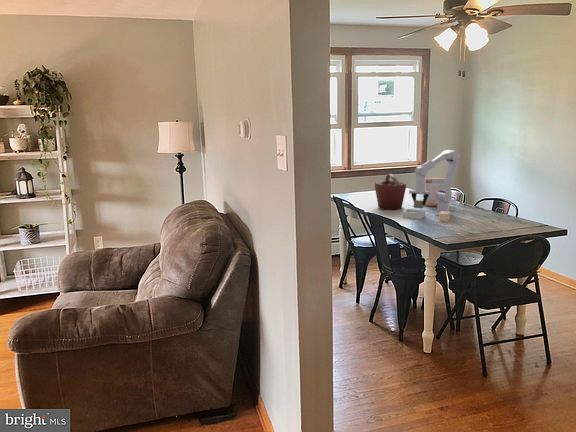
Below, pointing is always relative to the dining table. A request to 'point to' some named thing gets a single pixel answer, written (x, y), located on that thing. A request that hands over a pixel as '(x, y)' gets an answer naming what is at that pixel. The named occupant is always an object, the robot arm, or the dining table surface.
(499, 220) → the dining table surface
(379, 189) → the bucket
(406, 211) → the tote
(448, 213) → the carton
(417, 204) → the metal block
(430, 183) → the cracker box
